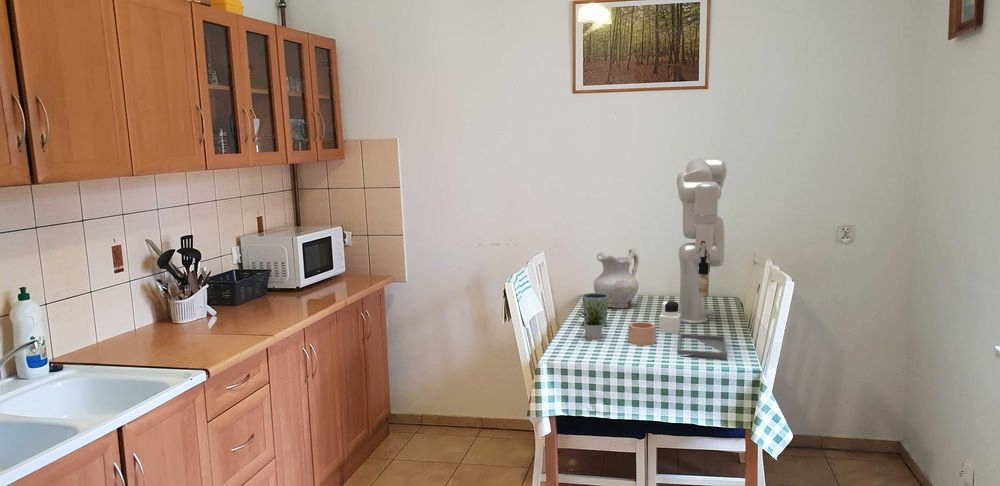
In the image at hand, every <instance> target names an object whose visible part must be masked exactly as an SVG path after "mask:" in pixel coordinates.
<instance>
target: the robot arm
mask: <svg viewBox="0 0 1000 486" xmlns="http://www.w3.org/2000/svg"><path fill="white" fill-rule="evenodd" d="M726 177H727V165H726V162H725V161H724V160H723V159H721V158H719V157H718V158H717V157H715V158H711V157H710V158H705V157H703V158H701V157H700V158H694V159H692V160H690V161H689V162H688V163H687V164H686V171H682V172H679V174H678V175H677V178H676V188H677V192H678V198H679V200H680V201H681V204H682V233H683V236H684V238H686V239H689V240H695V242H686V243H683V244H681V245H680V246H679V249H678V260H679V267H680V268H679V269H680V270H679V271H680V279H679V284H680V285H679V286H680V287H679V288H680V289H679V313H680V314H681V315H680V323H683V324H695V325H696V324H704V323H706V322H708V320H709V318H708V317H707V316H708V315H709V316H712V315H715V314H716V311H715V310H714V309H710V310H709V309H706V308H705V297H699V274H706V275H707V274H708V270H709V273H710V272H711V267H712V268H716V267H717V268H718V267H721V266H723V264H724V261H725V225H724V224H725V223H724V220H723V218H722V217H721V216H719V215H718V210H719V208H718V207H719V206H718V204H719V200H720V199H721V197H722V190H723V188H724V184H725V182H726V181H725V180H726ZM708 257H709V263H708Z"/></svg>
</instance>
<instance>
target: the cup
mask: <svg viewBox="0 0 1000 486" xmlns="http://www.w3.org/2000/svg"><path fill="white" fill-rule="evenodd" d="M627 329H628V330H627V331H628V332H627V342H629V343H630V344H632V345H636V346H652V345H654V344H655V343H656V342H657V325H656V324H654V323H652V322H646V321H645V322H644V321H636V322H631V323H629V324H628V328H627Z"/></svg>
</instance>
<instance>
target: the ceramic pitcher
mask: <svg viewBox="0 0 1000 486" xmlns="http://www.w3.org/2000/svg"><path fill="white" fill-rule="evenodd" d="M636 250H637V249H634V248H630V249H629V250H628V254H627V255H626V256H618V257H616V256H613V255H611V254H610V255H609V254H607V255H604V253H603V252H597V253H596V259H597V261H599V262H601V263H602V267H603V268H602V269H603V271H602V272H601V274H600V275H599V276H597V277H596V278H595V279H594V281H593V291H594V293H603V294H607V295H608V300H611V301H609V302H608V304H607V305H609V306H607V308H611V309H612V308H613V309H626V308H628V307H629V306H630V305H629V303H628V302H631V301H632V300H633V299H634V298H635V297H636V295H637V294H638V290H639V281H638V280H637V279H636V278H635V276H636V274H637V272H638V269H639V264H640V263H639V262H640V259H639V255H638V253H637V252H636ZM632 262H633V267H632V269H631V273H630V267H631V264H632ZM610 304H613V305H610Z"/></svg>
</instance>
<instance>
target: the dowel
mask: <svg viewBox="0 0 1000 486" xmlns="http://www.w3.org/2000/svg"><path fill="white" fill-rule="evenodd" d="M708 263H709V257H708ZM709 283H710V272H709V270H708V274H707V275H706V274H699V297H704V298H708V297H709V288H710V286H709V285H710V284H709Z"/></svg>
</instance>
